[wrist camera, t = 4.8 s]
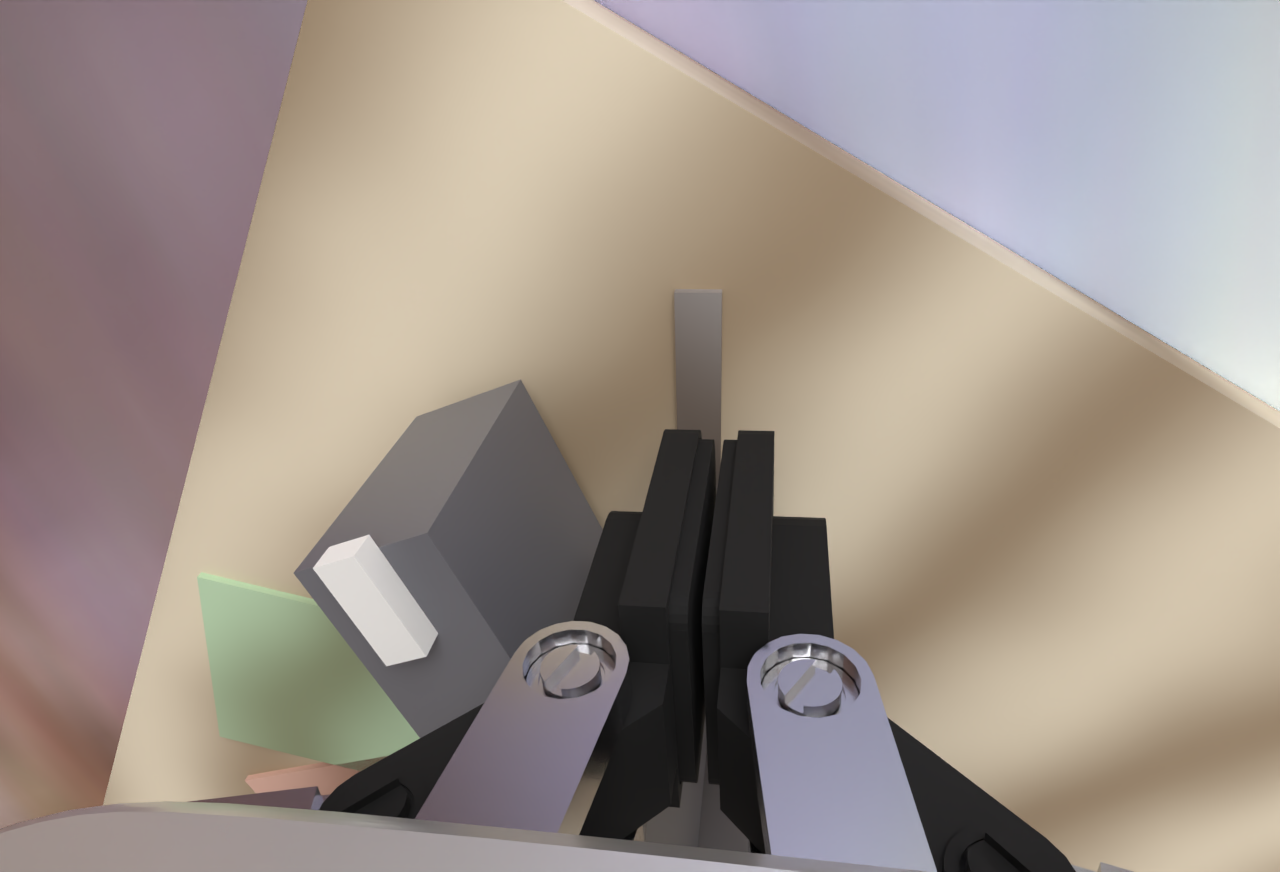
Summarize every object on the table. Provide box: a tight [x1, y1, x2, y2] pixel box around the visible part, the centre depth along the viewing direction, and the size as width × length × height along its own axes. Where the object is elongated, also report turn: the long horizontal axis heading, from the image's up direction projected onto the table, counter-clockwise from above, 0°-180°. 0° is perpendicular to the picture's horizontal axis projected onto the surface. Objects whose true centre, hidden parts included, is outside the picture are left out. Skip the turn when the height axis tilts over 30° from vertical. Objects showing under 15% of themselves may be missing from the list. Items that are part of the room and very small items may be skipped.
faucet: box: [294, 379, 748, 852], centre depth 13 cm, size 13×4×8 cm, turn 24°
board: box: [103, 0, 1280, 872], centre depth 18 cm, size 24×24×2 cm
